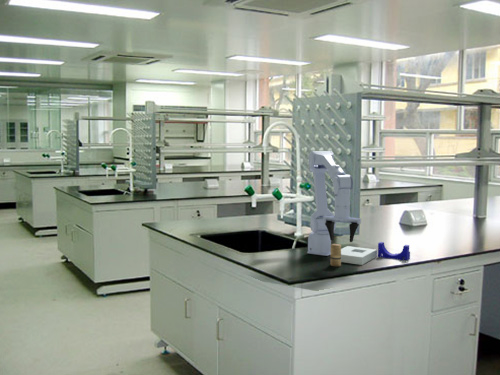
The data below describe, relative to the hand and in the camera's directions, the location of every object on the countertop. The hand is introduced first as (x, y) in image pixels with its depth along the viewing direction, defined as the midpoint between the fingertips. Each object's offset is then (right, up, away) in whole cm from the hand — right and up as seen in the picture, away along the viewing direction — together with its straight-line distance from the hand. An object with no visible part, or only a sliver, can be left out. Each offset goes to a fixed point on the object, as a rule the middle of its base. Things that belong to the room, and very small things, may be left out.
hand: (341, 240), depth 194 cm
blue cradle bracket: (+24, -9, +13) cm, 29 cm away
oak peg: (-2, -10, 0) cm, 10 cm away
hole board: (+7, -9, +11) cm, 16 cm away
